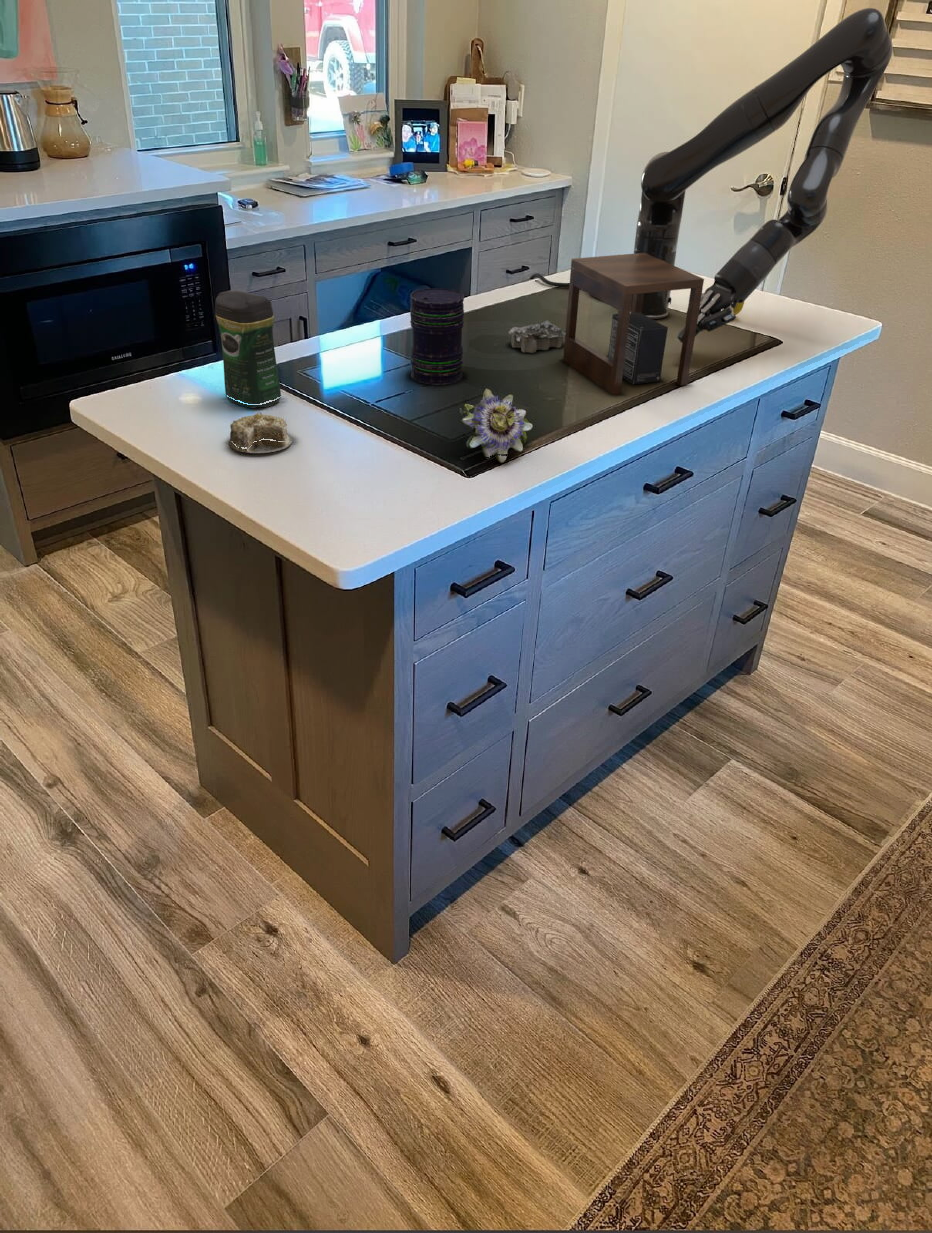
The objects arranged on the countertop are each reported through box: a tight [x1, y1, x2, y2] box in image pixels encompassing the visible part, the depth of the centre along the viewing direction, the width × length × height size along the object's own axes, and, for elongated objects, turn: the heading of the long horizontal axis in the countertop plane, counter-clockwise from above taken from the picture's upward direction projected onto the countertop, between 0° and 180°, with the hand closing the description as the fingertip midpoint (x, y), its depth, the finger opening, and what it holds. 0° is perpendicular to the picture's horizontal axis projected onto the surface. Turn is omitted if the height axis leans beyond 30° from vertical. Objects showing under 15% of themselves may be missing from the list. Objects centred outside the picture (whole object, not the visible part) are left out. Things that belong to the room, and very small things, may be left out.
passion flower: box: [458, 388, 534, 464], centre depth 149 cm, size 11×11×12 cm
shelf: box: [562, 253, 705, 396], centre depth 178 cm, size 20×16×20 cm
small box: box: [607, 313, 669, 385], centre depth 179 cm, size 11×6×10 cm, turn 23°
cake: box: [228, 412, 293, 454], centre depth 150 cm, size 10×10×5 cm
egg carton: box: [508, 320, 566, 354], centre depth 194 cm, size 11×8×4 cm
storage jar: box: [409, 287, 465, 386], centre depth 175 cm, size 10×10×15 cm
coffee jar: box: [214, 288, 282, 409], centre depth 162 cm, size 10×8×19 cm
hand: (681, 341), depth 184 cm, fingers closed
